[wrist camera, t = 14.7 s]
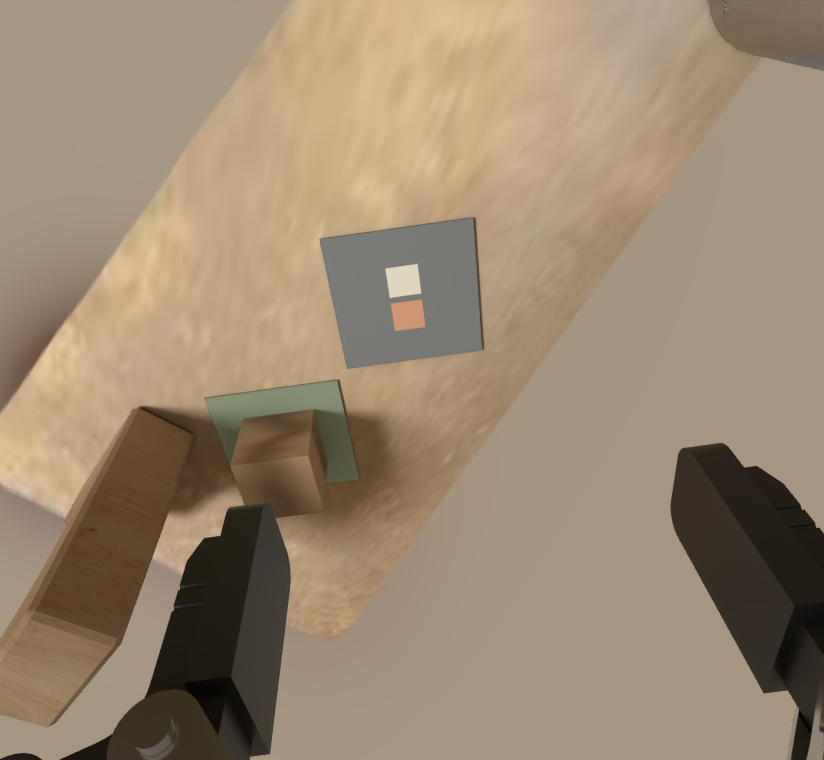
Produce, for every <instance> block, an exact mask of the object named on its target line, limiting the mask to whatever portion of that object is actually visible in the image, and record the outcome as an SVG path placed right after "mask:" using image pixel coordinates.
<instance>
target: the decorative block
mask: <svg viewBox="0 0 824 760" xmlns="http://www.w3.org/2000/svg"><path fill="white" fill-rule="evenodd" d="M194 440H195V438H194V436H193V434H191V433H189V432H187V431H185V430H183V429H181V428H179V427H177V426H175V425H172V424H170V423H168V422H166V421H164V420H162V419H160V418H158V417H156V416H154V415H152V414H150V413H148V412H146V411H144V410H142V409H140V408H137V409H133V410H132V411H131V413H130V414H129V416H128V418H127V419H126V421H125V422H124V424H123V425H122V427H121V428H120V430H119V431H118V433H117V434H116V436H115V438H114V439H113V441H112V442H111V444H110V445H109V447H108V448H107V450H106V451H105V453H104V455H103V456H102V458H101V459H100V461H99V462H98V464H97V465H96V467H95V468H94V470H93V471H92V473H91V475H90V476H89V478H88V479H87V481H86V482H85V484H84V485H83V487H82V489H81V491H80V493H79V494H78V496H77V498H76V500H75V502H74V504H73V505H72V507H71V509H70V511H69V513H68V515H67V517H66V518H65V520H64V521H65V524H66V528H65V530H64V531H63V533H62V535H61V537H60V539H59V540H58V542H57V544H56V546H55V548H54V550H53V551H52V553H51V555H50V557H49V559H48V560H47V562H46V564H45V565H44V567H43V569H42V571H41V572H40V574H39V576H38V578H37V579H36V581H35V583H34V584H33V586H32V588H31V590H30V591H29V593H28V595H27V596H26V598H25V599H24V601H23V603H22V605H21V606H20V608H19V609H18V611H17V613H16V615H15V616H14V618H13V619H12V621H11V622H10V624H9V626H8V627H7V629H6V630H5V632H4V633H3V635H2V637H1V638H0V714H1V715H4V716H8V717H12V718H16V719H19V720H23V721H27V722H31V723H34V724H38V725H42V726H45V727H49V726H51V725H53V724H55V723H56V722H57V721H58V719H59V718H60V717H61V716H62V715H63V713H64V712H65V711H66V710H67V708H68V707H69V706H70V705H71V704H72V703H73V701H74V700H75V699H76V698H77V696H78V695H79V694H80V693H81V692H82V690H83V689H84V688H85V687H86V686H87V685H88V683H89V682H90V681H91V680H92V678H93V677H94V676H95V675H96V674H97V672H98V671H99V670H100V669H101V667H102V666H103V665H104V664H105V662H106V661H107V660H108V659H109V658H110V657H111V655H112V654H113V653H114V652H115V650H116V649H117V648H118V647H119V646H120V644H121V643H122V640H123V637H124V634H125V631H126V629H127V626H128V623H129V620H130V618H131V615H132V612H133V609H134V606H135V604H136V601H137V598H138V595H139V593H140V590H141V587H142V584H143V582H144V579H145V576H146V573H147V571H148V568H149V565H150V562H151V560H152V557H153V554H154V551H155V548H156V546H157V543H158V540H159V537H160V534H161V532H162V529H163V526H164V523H165V521H166V518H167V515H168V512H169V510H170V507H171V504H172V501H173V498H174V496H175V493H176V490H177V487H178V485H179V482H180V479H181V476H182V474H183V471H184V468H185V465H186V462H187V460H188V457H189V454H190V451H191V448H192V446H193V443H194Z"/></svg>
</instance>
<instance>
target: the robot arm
mask: <svg viewBox="0 0 824 760" xmlns="http://www.w3.org/2000/svg"><path fill="white" fill-rule="evenodd" d="M709 4H710V10H711V15H712V18H713V20H714V23H715V25H716V28H717V30H718V31H719V32H720V34H721V35H722V36H723V38H724V39H725V40H726V41H727V42H728V43H729V44H731V45H732V46H733V47H735V48H736V49H738V50H740V51H743V52H746V53H748V54H752V55H756V56H761V57H765V58H770V59H775V60H779V61H782V62H786V63H791V64H795V65H800V66H805V67H809V68H813V69H818V70H822V71H824V0H709ZM671 517H672V522H673V526H674V529H675V532H676V534H677V536H678V538H679V540H680V542H681V543H682V545H683V547H684V549H685V551H686V553H687V554H688V556H689V558H690V560H691V562H692V563H693V565H694V567H695V569H696V571H697V573H698V574H699V576H700V578H701V580H702V582H703V584H704V585H705V587H706V589H707V591H708V592H709V595H710V596H711V598H712V600H713V602H714V603H715V605H716V607H717V609H718V611H719V613H720V614H721V616H722V618H723V620H724V622H725V623H726V625H727V627H728V629H729V631H730V633H731V635H732V636H733V638H734V640H735V641H736V643H737V645H738V647H739V649H740V651H741V653H742V655H743V656H744V658H745V660H746V662H747V664H748V665H749V667H750V669H751V671H752V673H753V675H754V676H755V678H756V680H757V682H758V684H759V685H760V687H761V689H762V691H763V693H770V692H777V691H786V690H788V691H789V693H790V695H791V696H792V698H793V700H794V701H795V703H796V705H797V708H796V711H795V714H794V719H793V724H792V730H791V736H790V743H789V748H788V753H787V760H824V534H823V532H822V531H821V529H820V528H816V526H815V522H814V521H813V520H812V518H811V517H810V516H809V515H808V513H807V512H806V511H805V510H802V509H801V505H800V504H799V503H798V501H797V500H796V499H795V497H794V496H793V495H792V494H791V493H790V491H789V490H788V489H787V488H786V486H785V485H784V484H783V483H782V482H780V481H779V480H777V479H776V478H774V477H773V476H771V475H770V474H768V473H767V472H765V471H764V470H762V469H761V468H759V467H758V466H753V467H746V468H744V467H743V465H742V464H741V463H740V461H739V460H738V459H737V458H736V456H735V455H734V454H733V452H732V451H731V450H730V449H729V447H728V446H726V445H725V444H723V443H717V444H710V445H703V446H695V447H687V448H682V449H681V450H680V452H679V454H678V460H677V466H676V472H675V479H674V485H673V492H672V499H671ZM290 581H291V575H290V563H289V558H288V554H287V551H286V548H285V545H284V542H283V539H282V536H281V533H280V530H279V527H278V524H277V522H276V519H275V516H274V513H273V510H272V507H271V506H270V504H269V503H268V502H266V503H259V504H251V505H244V506H236V507H230V508H229V509H228V510H227V513H226V516H225V520H224V524H223V528H222V532H221V536H216V537H209V538H204V539H203V540H202V542H201V543H200V544H199V546H198V547H197V548H196V550H195V551H194V552H193V554H192V555H191V556H190V558H189V559H188V560H187V563H186V566H185V569H184V573H183V576H182V580H181V583H180V590H179V591H178V593H177V596H176V600H175V603H174V611H172V613H171V616H170V619H169V623H168V626H167V629H166V633H165V636H164V640H163V643H162V647H161V649H160V653H159V656H158V659H157V663H156V666H155V670H154V673H153V677H152V679H151V683H150V686H149V689H148V692H147V694H146V696H145V698H144V699H142V700H141V701H139V702H138V703H137V704H135V705H134V706H133V707H132V708H131V709H130V710H129V711H128V712H127V713H126V714H125V715H124V716H123V718H122V719H121V720H120V721H119V723H118V724H117V726H116V728H115V729H114V731H113V734H111V735H110V736H108V737H107V738H105V739H103V740H101V741H99V742H98V743H96V744H93V745H91V746H89V747H87V748H85V749H82V750H80V751H78V752H75V753H73V754H71V755H69V756H67V757H64V758H62V759H60V760H250V757H251V756H259V755H266V754H270V749H271V741H272V732H273V724H274V715H275V708H276V698H277V691H278V683H279V674H280V666H281V657H282V650H283V640H284V633H285V625H286V617H287V609H288V600H289V592H290ZM0 760H42V759H40V758H39V757H37V756H35V755H33V754H27V753H19V754H13V755H10V756H7V757H4V758H2V759H0Z"/></svg>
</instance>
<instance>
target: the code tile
mask: <svg viewBox="0 0 824 760" xmlns="http://www.w3.org/2000/svg"><path fill="white" fill-rule="evenodd" d="M320 244H321V249H322V254H323V258H324V263H325V268H326V272H327V277H328V282H329V286H330V291H331V296H332V300H333V305H334V310H335V315H336V319H337V324H338V329H339V333H340V338H341V343H342V347H343V352H344V357H345V361H346V366H347V369H350V368H357V367H365V366H372V365H379V364H387V363H394V362H401V361H409V360H416V359H423V358H431V357H438V356H445V355H453V354H460V353H467V352H474V351H482V339H481V324H480V309H479V295H478V280H477V265H476V251H475V236H474V221H473V218H466V219H459V220H452V221H444V222H437V223H430V224H423V225H416V226H409V227H401V228H394V229H387V230H380V231H373V232H366V233H359V234H351V235H344V236H337V237H330V238H323V239H320Z"/></svg>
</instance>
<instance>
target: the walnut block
mask: <svg viewBox="0 0 824 760" xmlns="http://www.w3.org/2000/svg"><path fill="white" fill-rule="evenodd" d="M230 467H231V470H232V472H233V475H234V478H235V480H236V483H237V486H238V488H239V491H240V494H241V496H242V499H243V502H244V504H245V505H251V504H259V503H266V502H268V503H269V504H270V506H271V507H272V510H273V513H274V516H275V518H279V517H286V516H294V515H301V514H308V513H316V512H323V511H324V503H325V489H326V476H327V459H326V455H325V451H324V447H323V444H322V440H321V436H320V432H319V428H318V424H317V421H316V417H315V413H314V409H310V410H302V411H295V412H288V413H280V414H273V415H266V416H258V417H251V418H244V419H243V420H242V424H241V428H240V431H239V435H238V439H237V442H236V446H235V450H234V454H233V457H232V461H231V465H230Z"/></svg>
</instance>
